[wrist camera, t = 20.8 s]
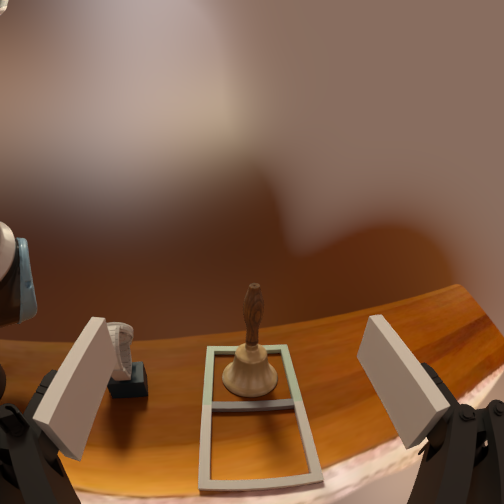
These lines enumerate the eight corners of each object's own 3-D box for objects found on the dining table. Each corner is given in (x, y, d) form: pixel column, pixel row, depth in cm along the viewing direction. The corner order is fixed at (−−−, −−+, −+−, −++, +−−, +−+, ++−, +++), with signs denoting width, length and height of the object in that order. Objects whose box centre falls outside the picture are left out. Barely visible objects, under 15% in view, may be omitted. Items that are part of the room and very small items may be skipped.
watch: (146, 367, 38) (132, 310, 35) (149, 405, 31) (129, 346, 28) (113, 370, 37) (95, 313, 33) (111, 407, 30) (85, 349, 26)
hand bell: (284, 367, 40) (295, 277, 35) (265, 404, 33) (274, 308, 28) (236, 354, 43) (236, 266, 38) (212, 386, 36) (204, 291, 31)
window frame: (199, 490, 20) (198, 488, 20) (207, 349, 44) (207, 346, 44) (322, 481, 21) (323, 479, 21) (286, 347, 45) (286, 344, 45)
